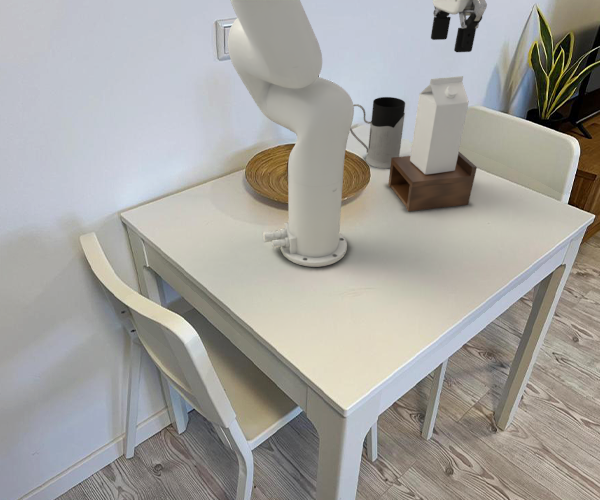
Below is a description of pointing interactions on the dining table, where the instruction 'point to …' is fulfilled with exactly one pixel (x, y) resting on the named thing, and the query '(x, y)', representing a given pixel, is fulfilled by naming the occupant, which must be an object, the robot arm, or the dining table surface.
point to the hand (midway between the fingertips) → (450, 45)
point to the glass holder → (384, 131)
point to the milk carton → (439, 125)
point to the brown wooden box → (431, 184)
